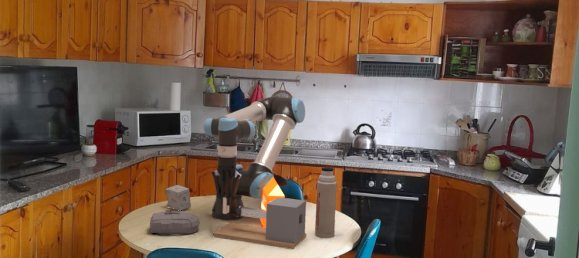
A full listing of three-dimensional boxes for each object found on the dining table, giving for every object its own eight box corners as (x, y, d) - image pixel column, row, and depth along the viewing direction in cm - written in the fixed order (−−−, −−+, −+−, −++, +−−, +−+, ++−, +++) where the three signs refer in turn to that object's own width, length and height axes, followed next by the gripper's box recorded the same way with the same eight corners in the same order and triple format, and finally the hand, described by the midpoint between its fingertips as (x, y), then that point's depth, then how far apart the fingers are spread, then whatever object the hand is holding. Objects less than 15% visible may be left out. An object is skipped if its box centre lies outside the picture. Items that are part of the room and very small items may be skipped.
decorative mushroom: (286, 207, 259) (287, 177, 257) (263, 206, 259) (264, 176, 257) (286, 202, 270) (287, 173, 268) (265, 201, 270) (266, 172, 268)
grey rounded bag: (147, 236, 209) (199, 236, 211) (147, 216, 208) (199, 216, 210) (152, 225, 224) (200, 225, 226) (152, 206, 223) (201, 206, 225)
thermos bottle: (316, 237, 214) (319, 169, 211) (313, 231, 222) (316, 165, 219) (335, 238, 215) (338, 170, 212) (332, 232, 223) (335, 166, 220)
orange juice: (263, 228, 224) (268, 183, 219) (259, 219, 232) (264, 176, 227) (281, 228, 226) (286, 184, 221) (276, 219, 234) (281, 176, 229)
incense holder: (164, 208, 250) (164, 186, 249) (179, 205, 256) (179, 184, 255) (176, 212, 244) (176, 190, 243) (191, 209, 250) (191, 187, 249)
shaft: (234, 218, 213) (235, 206, 213) (240, 215, 218) (240, 203, 218) (276, 224, 207) (277, 211, 207) (281, 220, 212) (281, 208, 211)
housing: (212, 236, 211) (213, 198, 210) (230, 225, 226) (231, 190, 225) (292, 249, 200) (294, 208, 198) (306, 237, 215) (307, 199, 213)
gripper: (208, 155, 214) (207, 212, 216) (237, 158, 209) (236, 217, 212) (217, 153, 221) (216, 208, 223) (245, 156, 216) (244, 212, 219)
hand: (225, 212), depth 217 cm, fingers closed
